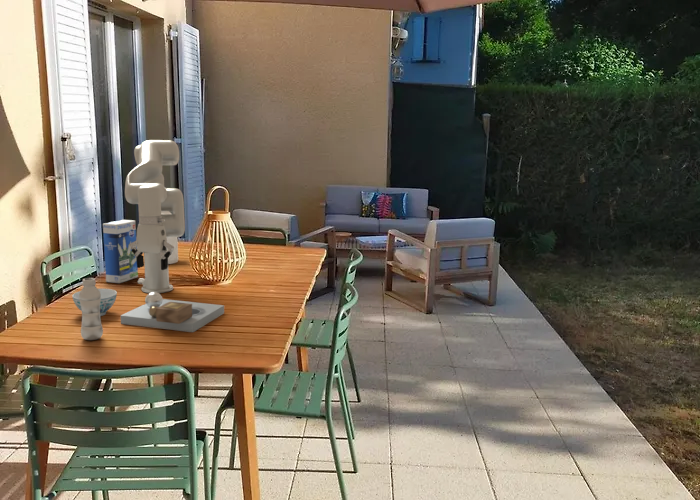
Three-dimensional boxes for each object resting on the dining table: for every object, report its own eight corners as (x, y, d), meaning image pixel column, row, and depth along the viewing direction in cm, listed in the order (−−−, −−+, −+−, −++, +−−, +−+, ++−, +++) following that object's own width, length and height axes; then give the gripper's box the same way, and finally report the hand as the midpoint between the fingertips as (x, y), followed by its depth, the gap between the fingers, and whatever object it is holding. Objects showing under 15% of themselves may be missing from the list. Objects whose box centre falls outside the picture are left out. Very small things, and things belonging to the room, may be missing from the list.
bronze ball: (146, 317, 221) (146, 307, 220) (153, 314, 225) (152, 304, 224) (156, 319, 220) (156, 308, 219) (162, 315, 224) (162, 305, 223)
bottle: (147, 260, 323) (145, 204, 317) (175, 258, 329) (173, 203, 323) (151, 266, 310) (149, 208, 305) (180, 263, 316) (178, 207, 311)
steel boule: (142, 309, 230) (141, 293, 229) (151, 305, 236) (150, 289, 235) (156, 311, 229) (156, 294, 228) (166, 306, 235) (165, 290, 233)
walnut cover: (156, 321, 217) (155, 307, 216) (170, 314, 225) (169, 301, 224) (179, 323, 215) (178, 310, 214) (192, 316, 223) (191, 303, 222)
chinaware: (75, 322, 224) (74, 301, 222) (72, 311, 237) (70, 291, 236) (120, 317, 231) (119, 296, 229) (114, 306, 244) (113, 286, 242)
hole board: (120, 323, 224) (120, 315, 223) (157, 305, 246) (157, 298, 245) (192, 332, 216) (192, 323, 216) (224, 313, 238) (224, 305, 238)
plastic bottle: (84, 335, 211) (81, 276, 207) (106, 335, 211) (102, 276, 207) (78, 342, 205) (74, 281, 201) (100, 342, 205) (96, 281, 201)
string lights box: (119, 283, 277) (116, 224, 272) (105, 282, 279) (101, 223, 274) (138, 276, 289) (136, 220, 284) (124, 275, 291) (121, 219, 286)
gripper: (177, 220, 227) (179, 267, 231) (135, 218, 232) (137, 264, 235) (166, 223, 220) (168, 272, 224) (122, 220, 225) (125, 268, 228)
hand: (152, 268), depth 229 cm, fingers open, 9 cm apart
